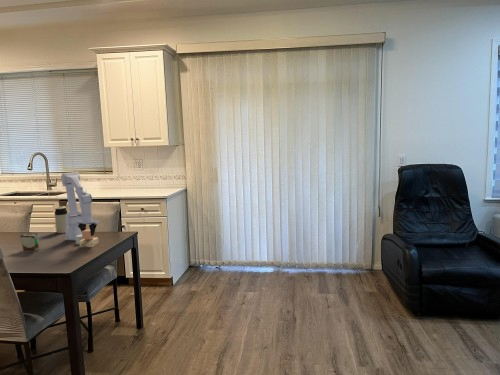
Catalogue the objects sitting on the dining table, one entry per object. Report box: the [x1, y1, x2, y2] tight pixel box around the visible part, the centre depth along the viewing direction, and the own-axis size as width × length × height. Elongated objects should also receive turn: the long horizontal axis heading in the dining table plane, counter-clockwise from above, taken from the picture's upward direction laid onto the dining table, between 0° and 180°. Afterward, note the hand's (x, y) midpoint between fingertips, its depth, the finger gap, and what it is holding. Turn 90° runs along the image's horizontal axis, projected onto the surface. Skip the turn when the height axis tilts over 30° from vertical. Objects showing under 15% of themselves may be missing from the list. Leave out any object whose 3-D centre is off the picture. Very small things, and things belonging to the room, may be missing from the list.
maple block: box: [79, 237, 99, 248], centre depth 226 cm, size 8×8×4 cm
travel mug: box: [54, 205, 68, 234], centre depth 260 cm, size 8×8×18 cm
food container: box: [19, 232, 40, 253], centre depth 219 cm, size 12×6×10 cm, turn 71°
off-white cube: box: [75, 235, 83, 245], centre depth 231 cm, size 5×5×5 cm
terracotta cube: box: [82, 228, 96, 239], centre depth 225 cm, size 5×5×5 cm
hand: (88, 235), depth 226 cm, fingers closed on terracotta cube, 5 cm apart
